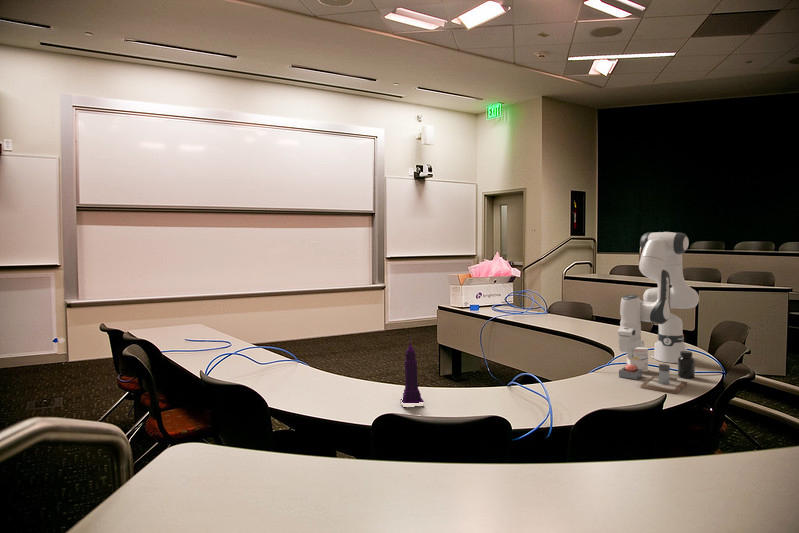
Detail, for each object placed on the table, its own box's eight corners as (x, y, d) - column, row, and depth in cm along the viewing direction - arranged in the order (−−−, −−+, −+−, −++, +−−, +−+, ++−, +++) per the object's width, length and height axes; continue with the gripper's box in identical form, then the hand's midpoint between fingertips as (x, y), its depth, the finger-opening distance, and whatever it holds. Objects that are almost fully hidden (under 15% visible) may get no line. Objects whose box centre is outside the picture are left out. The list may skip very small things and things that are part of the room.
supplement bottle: (688, 374, 226) (688, 349, 226) (698, 378, 220) (698, 353, 219) (674, 375, 226) (674, 350, 226) (683, 379, 219) (683, 353, 219)
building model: (403, 408, 192) (400, 335, 191) (400, 403, 199) (398, 332, 197) (424, 406, 194) (421, 334, 192) (420, 401, 200) (418, 331, 199)
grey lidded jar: (660, 381, 213) (661, 363, 213) (670, 383, 210) (671, 365, 210) (657, 383, 211) (657, 365, 210) (667, 385, 208) (667, 367, 207)
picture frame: (653, 378, 222) (653, 374, 222) (687, 384, 212) (687, 379, 212) (640, 387, 209) (640, 383, 209) (676, 394, 199) (676, 389, 199)
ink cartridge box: (630, 371, 234) (630, 342, 233) (626, 369, 239) (626, 340, 238) (648, 371, 233) (648, 342, 232) (644, 369, 238) (644, 340, 237)
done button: (627, 370, 229) (627, 364, 229) (637, 371, 226) (637, 365, 226) (624, 372, 226) (624, 366, 226) (633, 373, 223) (633, 367, 223)
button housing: (624, 373, 232) (624, 366, 232) (642, 376, 226) (642, 369, 226) (618, 377, 226) (618, 370, 226) (636, 380, 220) (636, 373, 220)
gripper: (630, 325, 234) (631, 353, 235) (615, 331, 220) (616, 361, 220) (644, 327, 230) (644, 355, 231) (630, 333, 215) (630, 363, 216)
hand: (630, 358), depth 225 cm, fingers closed
